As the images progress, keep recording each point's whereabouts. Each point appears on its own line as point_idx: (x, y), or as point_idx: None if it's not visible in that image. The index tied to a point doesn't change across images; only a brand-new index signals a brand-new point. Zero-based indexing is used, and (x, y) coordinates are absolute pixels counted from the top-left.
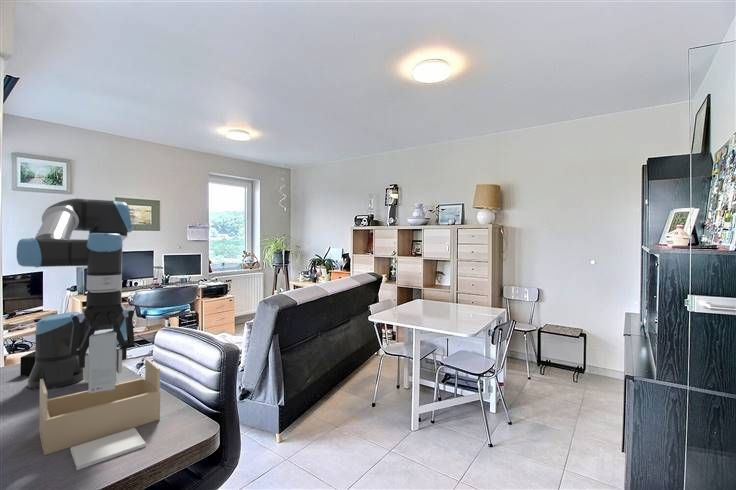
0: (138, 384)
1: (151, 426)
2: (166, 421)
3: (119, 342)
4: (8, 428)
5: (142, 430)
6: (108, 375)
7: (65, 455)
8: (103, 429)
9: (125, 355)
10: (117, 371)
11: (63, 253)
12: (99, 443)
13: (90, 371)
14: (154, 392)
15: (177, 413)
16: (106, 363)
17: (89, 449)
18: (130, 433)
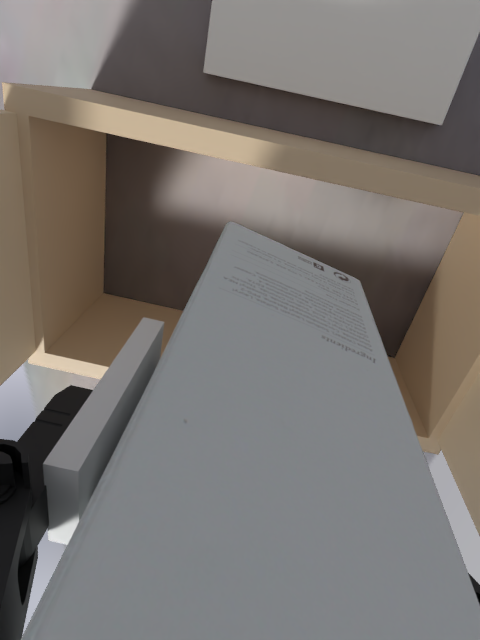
0: (77, 345)
1: (140, 47)
2: (73, 36)
3: (11, 585)
4: (428, 458)
5: (182, 42)
6: (257, 273)
7: (466, 100)
8: (310, 140)
9: (50, 413)
10: (158, 354)
11: None
12: (365, 45)
13: (380, 359)
14: (38, 90)
15: (11, 80)
16: (265, 339)
17: (418, 19)
18: (239, 20)
